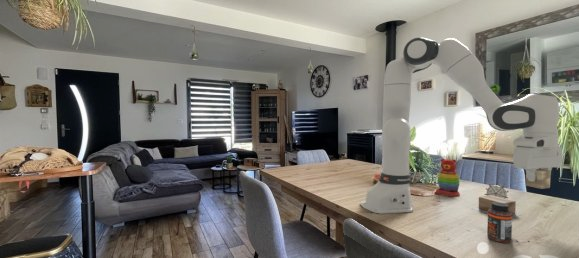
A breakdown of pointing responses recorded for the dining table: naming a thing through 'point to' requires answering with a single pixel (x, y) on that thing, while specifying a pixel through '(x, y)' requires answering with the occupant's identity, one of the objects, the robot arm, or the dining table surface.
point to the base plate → (487, 212)
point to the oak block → (540, 179)
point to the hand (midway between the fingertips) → (537, 180)
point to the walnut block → (486, 201)
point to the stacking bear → (448, 179)
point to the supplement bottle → (499, 223)
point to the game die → (496, 191)
